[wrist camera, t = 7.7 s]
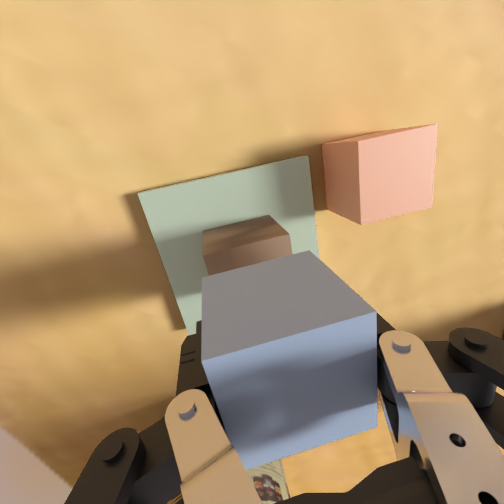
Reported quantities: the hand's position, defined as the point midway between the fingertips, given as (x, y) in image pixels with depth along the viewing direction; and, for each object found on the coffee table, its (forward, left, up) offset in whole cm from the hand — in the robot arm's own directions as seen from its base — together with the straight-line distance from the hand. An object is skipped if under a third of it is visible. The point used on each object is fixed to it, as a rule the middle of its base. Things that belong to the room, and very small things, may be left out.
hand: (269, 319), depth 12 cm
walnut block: (0, 0, -9) cm, 9 cm away
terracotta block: (-10, -4, -10) cm, 15 cm away
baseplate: (0, 0, -10) cm, 10 cm away
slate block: (0, 0, -1) cm, 1 cm away
